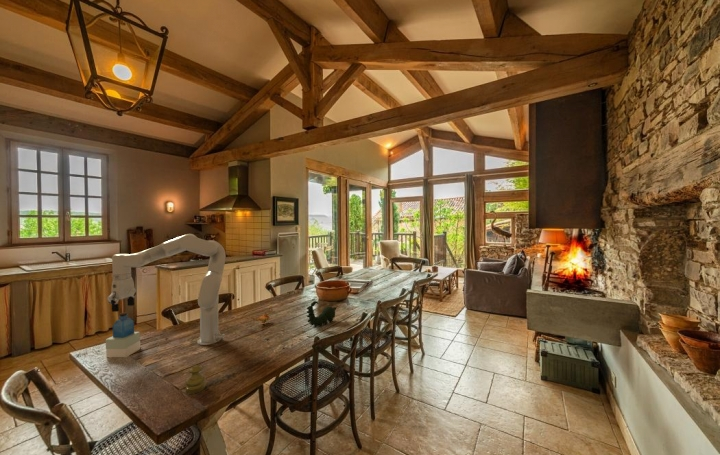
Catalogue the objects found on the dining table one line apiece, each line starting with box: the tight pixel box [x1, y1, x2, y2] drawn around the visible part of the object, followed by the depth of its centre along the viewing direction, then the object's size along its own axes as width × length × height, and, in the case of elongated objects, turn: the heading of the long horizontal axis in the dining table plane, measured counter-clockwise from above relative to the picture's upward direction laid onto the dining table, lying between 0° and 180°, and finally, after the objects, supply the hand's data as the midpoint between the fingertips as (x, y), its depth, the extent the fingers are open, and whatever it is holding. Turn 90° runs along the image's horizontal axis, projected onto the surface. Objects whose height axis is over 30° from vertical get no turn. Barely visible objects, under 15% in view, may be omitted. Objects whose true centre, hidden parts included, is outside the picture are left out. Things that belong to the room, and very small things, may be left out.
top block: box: [105, 331, 141, 350], centre depth 150 cm, size 10×10×5 cm
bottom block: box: [105, 340, 141, 358], centre depth 150 cm, size 10×10×5 cm
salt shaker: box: [184, 364, 206, 395], centre depth 119 cm, size 7×8×10 cm
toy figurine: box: [306, 300, 337, 328], centre depth 193 cm, size 9×19×25 cm
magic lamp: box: [251, 305, 273, 323], centre depth 193 cm, size 7×18×11 cm, turn 150°
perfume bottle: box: [112, 311, 135, 338], centre depth 150 cm, size 6×6×12 cm
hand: (123, 308), depth 150 cm, fingers open, 9 cm apart
